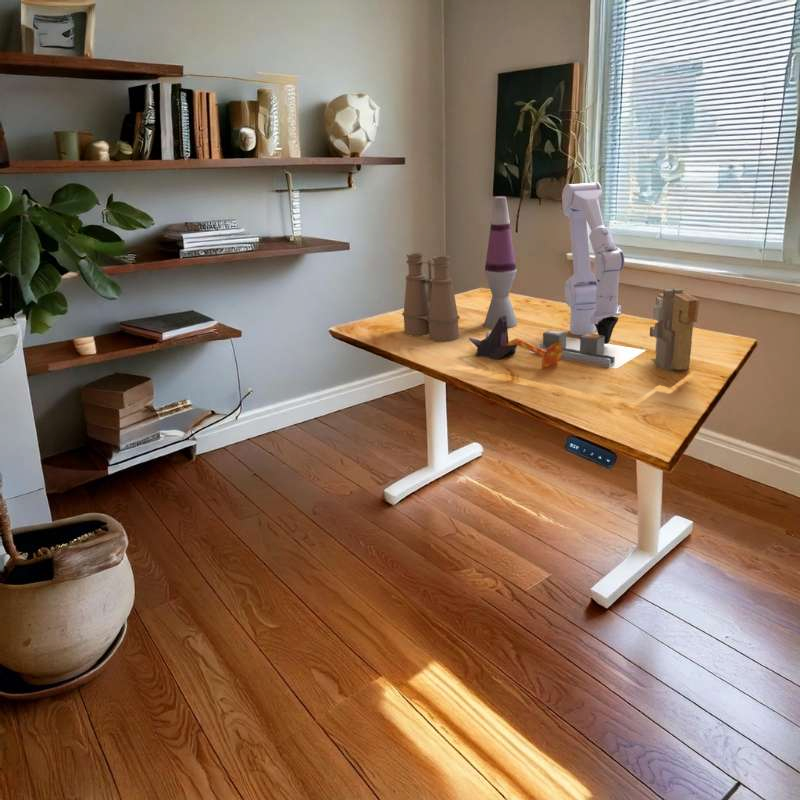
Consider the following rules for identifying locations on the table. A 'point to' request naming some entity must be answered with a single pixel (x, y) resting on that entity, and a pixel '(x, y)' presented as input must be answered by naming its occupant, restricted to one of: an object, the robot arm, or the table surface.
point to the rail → (584, 356)
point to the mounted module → (554, 337)
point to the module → (592, 343)
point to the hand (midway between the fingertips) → (604, 342)
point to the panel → (609, 351)
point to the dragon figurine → (513, 345)
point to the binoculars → (430, 300)
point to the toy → (674, 328)
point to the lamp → (500, 265)
